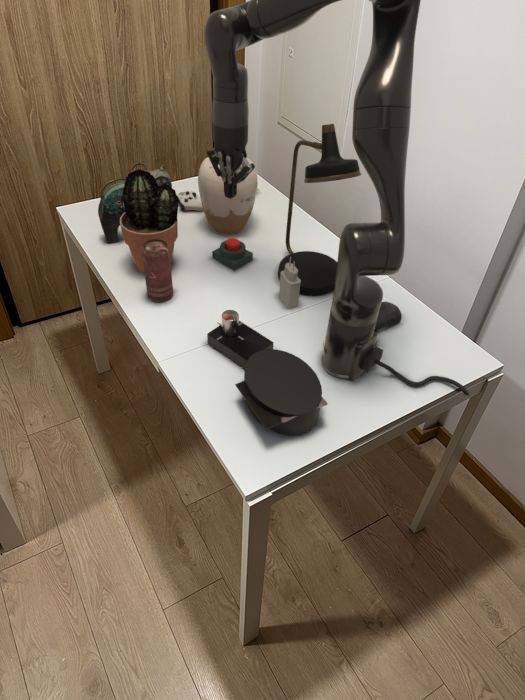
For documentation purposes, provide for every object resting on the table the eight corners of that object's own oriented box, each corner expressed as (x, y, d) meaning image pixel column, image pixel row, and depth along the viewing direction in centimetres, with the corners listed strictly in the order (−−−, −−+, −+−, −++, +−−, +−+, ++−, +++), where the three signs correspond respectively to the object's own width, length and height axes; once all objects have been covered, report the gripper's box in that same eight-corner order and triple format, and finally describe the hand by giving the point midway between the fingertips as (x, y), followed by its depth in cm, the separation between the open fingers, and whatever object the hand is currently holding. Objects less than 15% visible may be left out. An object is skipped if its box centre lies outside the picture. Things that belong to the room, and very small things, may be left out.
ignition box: (252, 260, 140) (253, 247, 137) (234, 271, 136) (234, 258, 133) (230, 248, 143) (230, 235, 141) (212, 258, 139) (211, 245, 137)
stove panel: (272, 352, 115) (273, 341, 113) (247, 371, 111) (248, 360, 108) (230, 324, 121) (230, 313, 119) (204, 341, 117) (204, 331, 114)
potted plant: (142, 286, 129) (128, 191, 112) (117, 259, 137) (101, 166, 120) (190, 269, 136) (185, 176, 118) (164, 244, 143) (156, 153, 126)
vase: (236, 247, 144) (237, 166, 128) (188, 229, 149) (184, 149, 133) (265, 222, 154) (270, 144, 138) (219, 206, 159) (219, 129, 143)
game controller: (206, 208, 156) (191, 197, 152) (194, 221, 157) (179, 211, 153) (196, 193, 162) (182, 181, 158) (185, 206, 164) (170, 195, 160)
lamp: (300, 305, 127) (319, 147, 100) (258, 258, 141) (265, 107, 114) (356, 288, 133) (388, 134, 106) (310, 244, 146) (329, 98, 120)
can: (169, 305, 125) (164, 255, 115) (144, 300, 126) (136, 250, 116) (177, 289, 129) (173, 240, 120) (152, 285, 130) (146, 236, 120)
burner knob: (229, 323, 117) (229, 306, 113) (241, 330, 115) (242, 313, 112) (218, 331, 115) (218, 314, 111) (230, 339, 113) (230, 322, 110)
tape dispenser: (288, 365, 114) (288, 339, 109) (335, 422, 102) (338, 395, 97) (226, 389, 109) (224, 362, 104) (268, 451, 97) (268, 424, 92)
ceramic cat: (171, 222, 151) (166, 154, 137) (179, 234, 147) (173, 164, 133) (101, 235, 145) (87, 165, 131) (106, 248, 141) (93, 176, 127)
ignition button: (242, 247, 137) (242, 241, 136) (232, 253, 135) (232, 247, 134) (232, 242, 139) (232, 236, 138) (222, 247, 137) (222, 241, 136)
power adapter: (287, 309, 126) (291, 267, 118) (277, 295, 129) (281, 254, 121) (298, 306, 127) (304, 264, 119) (289, 292, 130) (293, 251, 122)
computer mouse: (413, 323, 124) (417, 310, 122) (370, 348, 117) (374, 336, 115) (381, 301, 130) (384, 288, 127) (338, 324, 123) (341, 311, 120)
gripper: (266, 124, 110) (262, 201, 122) (220, 107, 116) (221, 182, 128) (241, 133, 106) (239, 212, 118) (195, 115, 112) (198, 192, 124)
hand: (230, 196), depth 123 cm, fingers closed
